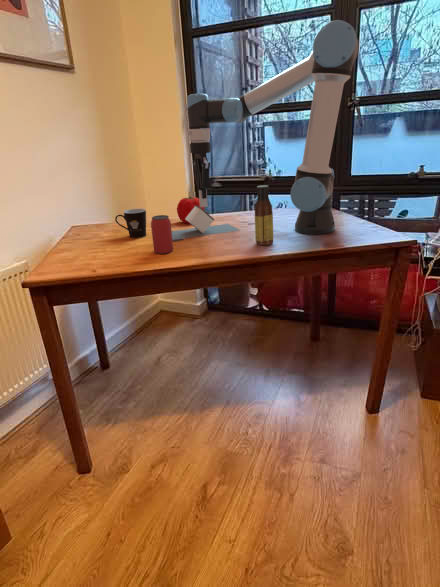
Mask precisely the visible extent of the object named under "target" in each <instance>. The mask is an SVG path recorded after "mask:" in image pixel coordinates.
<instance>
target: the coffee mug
mask: <svg viewBox="0 0 440 587" xmlns="http://www.w3.org/2000/svg"><path fill="white" fill-rule="evenodd" d="M118 217H122V218H123V220H125V224H126V226H124V225H123V224H121V223H120V222H118V220H117V219H118ZM115 223H116V224H117V225H119V226H120V227H122V228H124V229H125V230H127V231H128V235H129V238H131V239H141V238H142V239H143V238H145V237H147V209H145V208H130V209H126V210H124V211H123V214H117V215H116V216H115Z"/></svg>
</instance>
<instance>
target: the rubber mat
mask: <svg viewBox="0 0 440 587" xmlns="http://www.w3.org/2000/svg"><path fill="white" fill-rule="evenodd" d="M239 231H240V228H237V227H235V226H233V225H231V224H229V223H224V224H216V225H215V224H214V225H210V226H209V227H208V228H207V229H206V231H205V232H204V233H202V232H200V231H199V230H197V229H196V228H195V227H194V228H187V229H180V230H179V229H178V230H172V241H173V243H174V242H179V241H184V239H191V238H197V237H198V238H199V237H205V236H210V235H219V234H225V233H231V232H239Z"/></svg>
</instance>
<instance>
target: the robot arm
mask: <svg viewBox="0 0 440 587" xmlns="http://www.w3.org/2000/svg"><path fill="white" fill-rule="evenodd" d="M359 50H360V43H359V39H358V37H357V32H356V30H355V28H354V27H353V26H352V25H351V24H350V23H348V22H346V21H345V20H340V19H333V20H331V21H329V22H327V23H325V24H324V25H323V26H322V27H320V29H319V30H318V31H317V32H316V35H315V36H314V39H313V42H312V51H311V52H310V55H309V56H308V57H306V58H305V59H303V60H301V61H300V62H298V63H296V64H294V65H293V66H290V67H289V68H287V69H286V70H283V71H282V72H281V73H279V74H276V75H275V76H273V77H272V78H270V79H269V80H266V81H265V82H263V83H261V84H260V85H258V86H256V87H255V88H253V89H251V90H250V91H248V92H245V93H244V94H243V95H241V96H238V97H227V98H216V99H209V95H208V94H207V93H192V94H191V93H190V94H189V95H188V96H187V98H186V106H187V107H186V111H187V118H188V119H187V122H188V132H187V135H188V136H189V137H188V138H189V142H190V143H189V151H190V152H189V153H190V154H193V155H194V160H193V161H192V164H193V169H194V178H195V184H196V185H195V186H196V187H197V189H198V199H199V201H200V207H205V208H206V207H208V189H209V188H210V170H211V162H209V161H208V160H209V159H208V157H207V154H209V153H211V150H212V149H211V142H210V140H211V130H210V129H211V128H210V124H221V123H223V124H224V123H225V124H226V123H229V124H231V123H233V124H234V123H239V124H240V123H243V122H245V121H247V120H248V119H249V117H251V116H253V115H254V114H257V113H258V112H260V111H262V110H264V109H266V108H268V107H270V106H271V105H273V104H275V103H277V102H278V101H280V100H282V99H284V98H285V97H288V96H290V95H292V94H294V93H296V92H297V91H299V90H302V88H305V87H307V86H309V85H310V84H312V83H314V89H313V93H312V94H313V95H312V100H311V106H310V113H309V118H308V119H309V120H308V126H307V132H306V137H305V144H304V149H303V155H302V156H303V157H302V163H301V164H299V166H297V167H296V170H295V171H296V172H295V176H294V177H295V179H294V183H293V184H292V186H291V188H290V193H289V194H290V200H291V202H292V204H293V206H294V207H295V208H296V209H298V210H299V211H298V212H299V213H298V214H297V216H296V217H297V218H296V221H295V224H294V231H296V232H298V233H300V234H304V235H305V234H306V235H323V234H324V235H325V234H330V233H333V232H334V231H335V229H336V224H335V218H334V215H333V211H332V210H333V209H332V206H333V205H332V204H333V193H334V179H335V171H334V169H333V168H331V167H330V166H329V165H330V159H331V155H332V154H331V153H332V148H333V144H334V138H335V133H336V127H337V123H338V116H339V112H340V105H341V100H342V98H343V97H342V95H343V91H344V86H345V83H346V82H347V81H349V79H351V76H352V71H353V70H352V69H353V66H354V63H355V61H356V59H357V58H358V55H359Z"/></svg>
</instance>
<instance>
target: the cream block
mask: <svg viewBox="0 0 440 587" xmlns="http://www.w3.org/2000/svg"><path fill="white" fill-rule="evenodd" d="M185 219H186V220H187V221H188V222H189V223H190V224H189V225H191V226H192V227H194V228H196V229H197V230H199V231H200V232H202V233H204V232H205V231H206V229H207V228H208V227H209V226H212V224H213V223H214V221H215V218H214V217H213V216H211V214H209V213H208V212H207V211H206V210H204V209H202V208H201V207H199V206H197V205H196V206H195V207H194V208H193V210H192V211H191V212H190V213H189V215H188V216H187V217H186V218H185Z"/></svg>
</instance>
